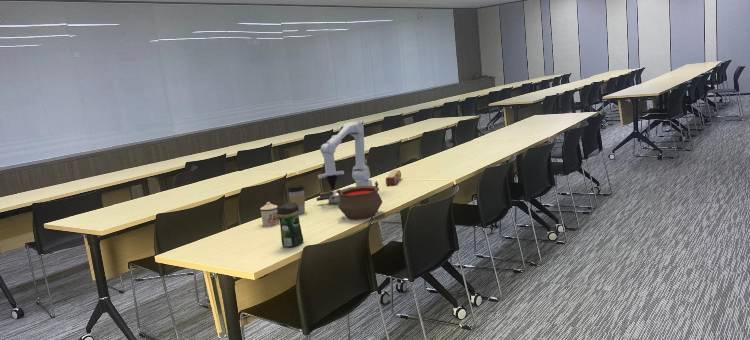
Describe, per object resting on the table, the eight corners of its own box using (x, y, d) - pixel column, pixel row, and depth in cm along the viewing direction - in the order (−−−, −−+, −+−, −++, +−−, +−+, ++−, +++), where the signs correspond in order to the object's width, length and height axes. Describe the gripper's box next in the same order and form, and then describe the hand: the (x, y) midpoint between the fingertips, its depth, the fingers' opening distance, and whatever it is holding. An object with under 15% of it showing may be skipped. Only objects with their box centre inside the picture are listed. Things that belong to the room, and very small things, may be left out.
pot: (352, 197, 338) (351, 190, 337) (356, 201, 325) (356, 194, 325) (316, 203, 334) (315, 195, 333) (319, 207, 321) (318, 200, 320)
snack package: (395, 186, 358) (394, 175, 357) (385, 186, 359) (384, 176, 358) (401, 179, 378) (400, 169, 377) (392, 179, 380) (390, 169, 379)
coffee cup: (310, 210, 316) (307, 184, 313) (303, 215, 307) (299, 188, 305) (295, 211, 319) (291, 185, 317) (287, 215, 310) (283, 188, 308)
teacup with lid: (269, 227, 289) (266, 205, 287) (259, 225, 296) (255, 203, 294) (288, 221, 298) (285, 199, 296) (277, 219, 304) (274, 198, 302)
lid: (340, 190, 339) (339, 184, 338) (355, 192, 329) (354, 186, 328) (313, 198, 326) (313, 192, 325) (328, 200, 316) (327, 194, 315)
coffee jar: (292, 240, 261) (286, 201, 258) (306, 241, 257) (300, 201, 254) (279, 247, 253) (273, 206, 249) (293, 248, 249) (287, 207, 246)
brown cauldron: (350, 225, 276) (346, 192, 273) (330, 217, 297) (326, 186, 294) (393, 215, 286) (390, 183, 283) (371, 207, 307) (368, 177, 304)
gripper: (339, 162, 323) (342, 185, 325) (315, 166, 317) (318, 190, 320) (344, 163, 316) (347, 187, 318) (318, 167, 311) (322, 192, 313)
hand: (332, 189), depth 319 cm, fingers closed
